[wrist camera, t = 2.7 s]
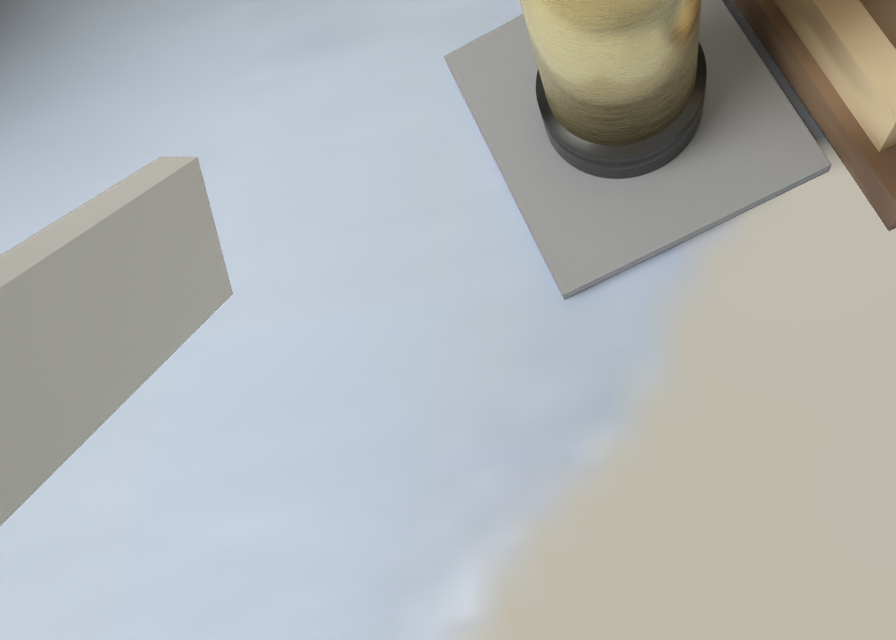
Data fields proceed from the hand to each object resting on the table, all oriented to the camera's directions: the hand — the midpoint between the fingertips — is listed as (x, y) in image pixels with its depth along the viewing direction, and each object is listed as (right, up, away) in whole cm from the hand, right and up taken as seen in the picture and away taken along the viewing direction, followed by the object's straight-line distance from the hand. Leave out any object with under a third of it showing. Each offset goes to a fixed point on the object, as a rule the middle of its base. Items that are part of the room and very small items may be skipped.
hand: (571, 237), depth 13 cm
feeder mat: (+4, +6, +14) cm, 16 cm away
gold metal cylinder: (+4, +6, +14) cm, 15 cm away
